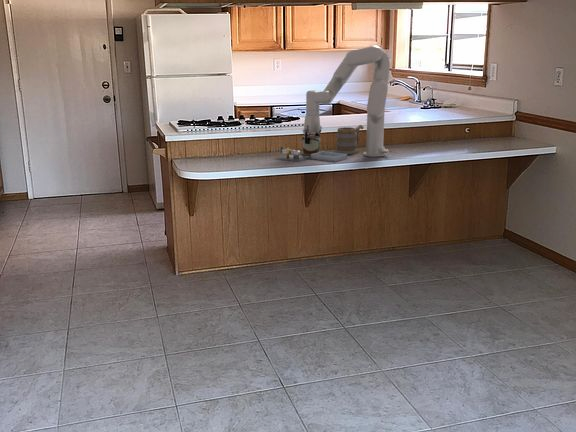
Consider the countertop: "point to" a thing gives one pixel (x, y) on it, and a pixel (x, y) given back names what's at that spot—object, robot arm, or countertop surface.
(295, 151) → the crank lever
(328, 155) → the tray
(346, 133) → the tankard
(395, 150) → the countertop surface
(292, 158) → the crank base
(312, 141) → the food container
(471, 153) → the countertop surface
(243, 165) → the countertop surface
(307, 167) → the countertop surface
